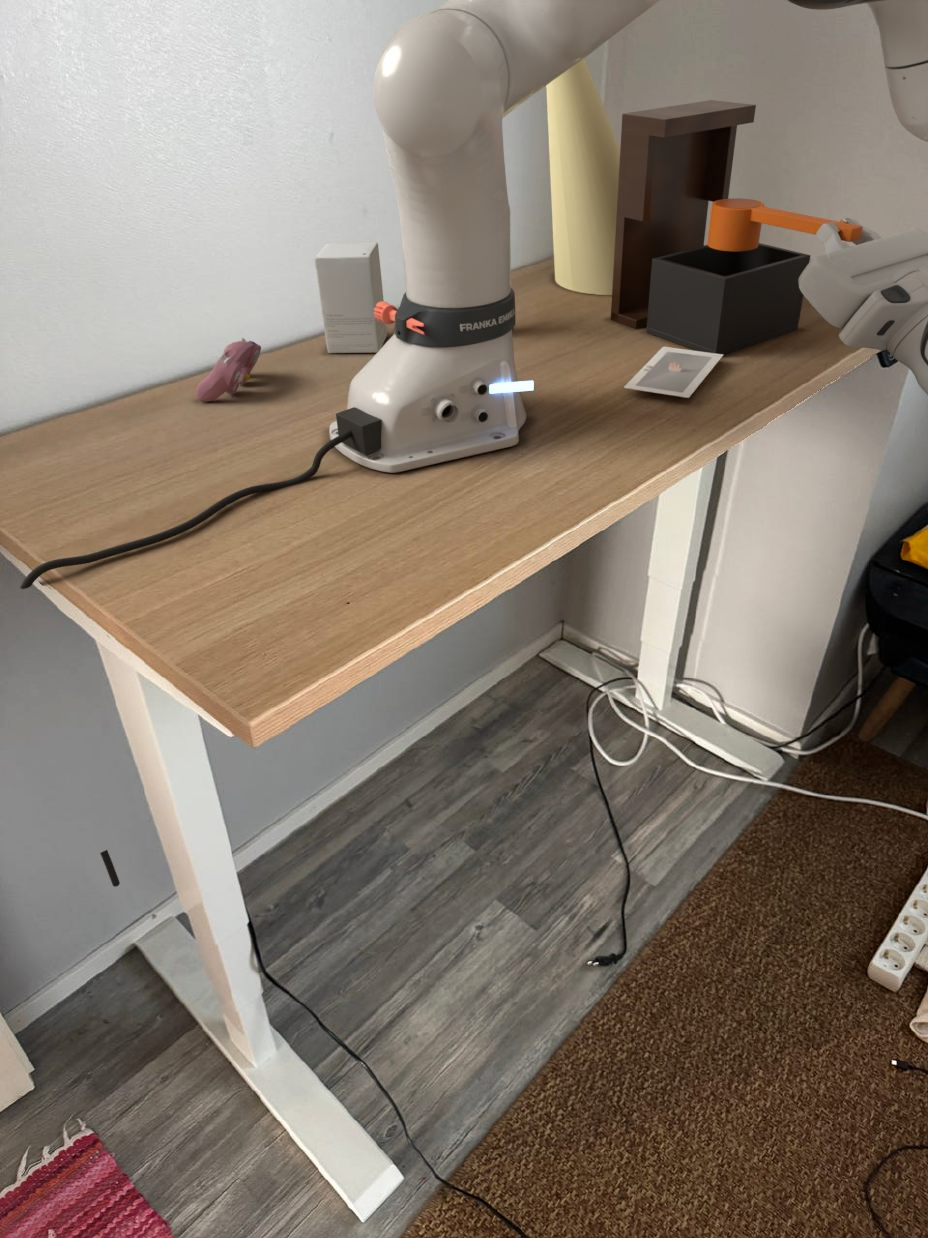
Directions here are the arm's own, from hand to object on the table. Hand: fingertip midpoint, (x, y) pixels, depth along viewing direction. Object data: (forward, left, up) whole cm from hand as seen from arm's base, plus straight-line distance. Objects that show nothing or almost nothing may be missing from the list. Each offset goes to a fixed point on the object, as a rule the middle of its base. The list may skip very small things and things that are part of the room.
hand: (832, 224), depth 106 cm
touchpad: (-17, +6, -16) cm, 24 cm away
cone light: (+3, +43, -16) cm, 46 cm away
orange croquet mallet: (0, +7, -5) cm, 8 cm away
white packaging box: (-41, +43, -16) cm, 61 cm away
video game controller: (-61, +39, -16) cm, 74 cm away
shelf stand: (0, +24, -16) cm, 29 cm away
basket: (0, +14, -16) cm, 21 cm away
